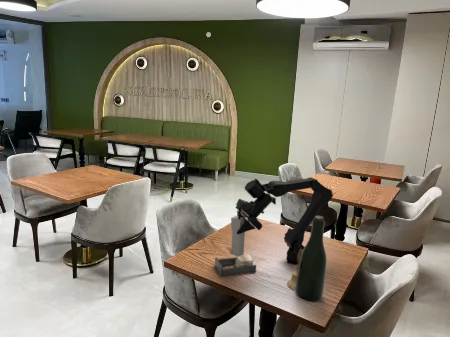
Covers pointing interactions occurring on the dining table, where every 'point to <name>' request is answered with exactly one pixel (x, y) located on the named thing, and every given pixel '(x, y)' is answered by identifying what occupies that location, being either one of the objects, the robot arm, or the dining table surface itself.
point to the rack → (234, 270)
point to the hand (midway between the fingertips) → (234, 230)
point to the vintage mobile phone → (237, 235)
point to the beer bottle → (312, 265)
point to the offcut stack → (243, 261)
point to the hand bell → (294, 273)
